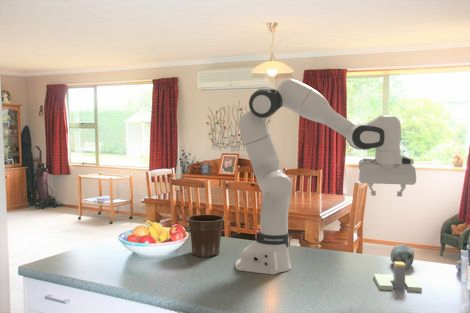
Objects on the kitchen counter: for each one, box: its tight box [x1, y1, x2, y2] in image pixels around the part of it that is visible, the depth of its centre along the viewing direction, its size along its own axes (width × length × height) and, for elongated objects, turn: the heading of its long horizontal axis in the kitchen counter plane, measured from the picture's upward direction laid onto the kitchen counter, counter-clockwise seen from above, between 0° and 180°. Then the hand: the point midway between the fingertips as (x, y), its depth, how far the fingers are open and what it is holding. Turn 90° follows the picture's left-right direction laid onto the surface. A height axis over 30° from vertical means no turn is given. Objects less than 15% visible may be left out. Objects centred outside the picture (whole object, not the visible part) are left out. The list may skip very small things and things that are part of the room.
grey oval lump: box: [390, 243, 415, 270], centre depth 176 cm, size 14×10×10 cm
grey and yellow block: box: [392, 261, 406, 291], centre depth 151 cm, size 3×3×9 cm
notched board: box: [373, 273, 423, 293], centre depth 155 cm, size 14×12×2 cm
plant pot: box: [187, 214, 225, 258], centre depth 191 cm, size 16×16×16 cm
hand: (386, 195), depth 161 cm, fingers open, 8 cm apart
